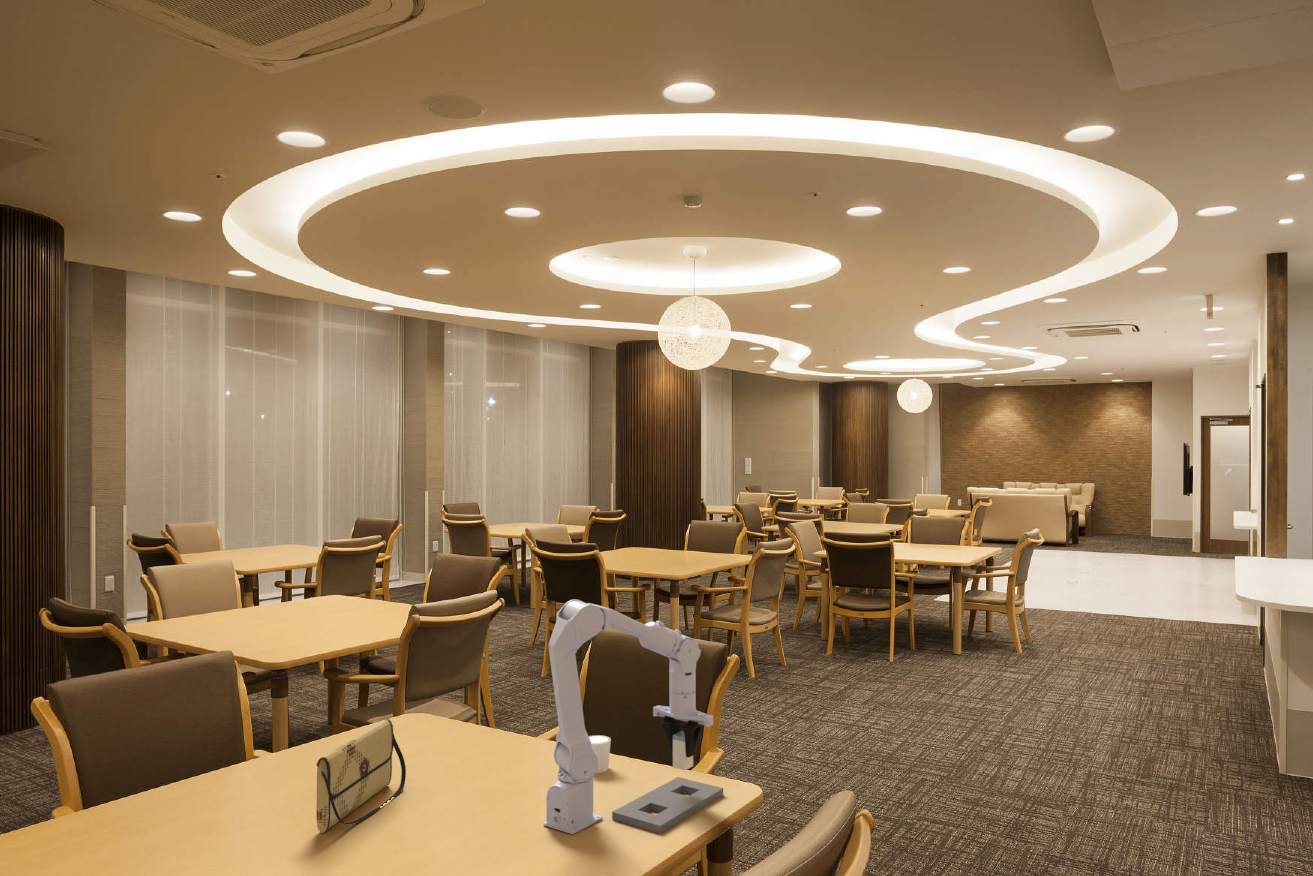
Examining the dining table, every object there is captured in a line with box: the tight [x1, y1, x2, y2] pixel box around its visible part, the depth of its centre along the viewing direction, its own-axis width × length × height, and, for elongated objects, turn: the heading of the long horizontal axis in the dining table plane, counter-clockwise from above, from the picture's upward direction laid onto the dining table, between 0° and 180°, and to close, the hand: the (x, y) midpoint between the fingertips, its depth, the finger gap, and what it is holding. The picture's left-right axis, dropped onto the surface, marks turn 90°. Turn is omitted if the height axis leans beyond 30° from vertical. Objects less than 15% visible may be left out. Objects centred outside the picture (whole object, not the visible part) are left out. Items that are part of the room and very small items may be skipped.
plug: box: [672, 730, 694, 771], centre depth 181 cm, size 3×3×7 cm
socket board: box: [611, 776, 724, 834], centre depth 177 cm, size 24×12×2 cm, turn 144°
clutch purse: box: [316, 718, 407, 834], centre depth 177 cm, size 30×7×15 cm, turn 170°
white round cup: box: [588, 734, 612, 774], centre depth 200 cm, size 7×7×7 cm
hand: (682, 754), depth 181 cm, fingers closed on plug, 3 cm apart
